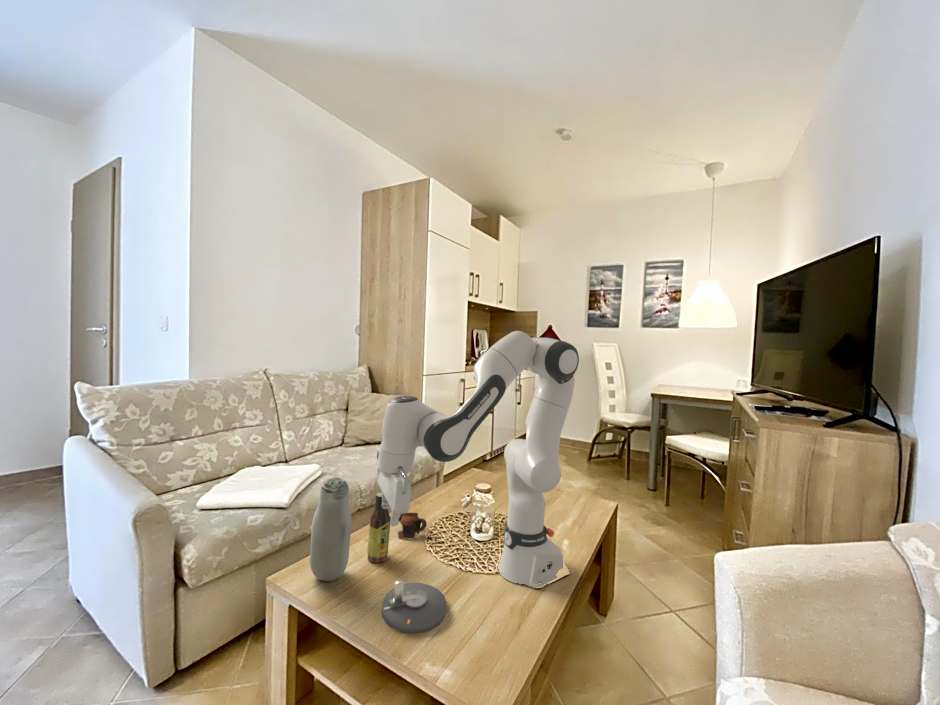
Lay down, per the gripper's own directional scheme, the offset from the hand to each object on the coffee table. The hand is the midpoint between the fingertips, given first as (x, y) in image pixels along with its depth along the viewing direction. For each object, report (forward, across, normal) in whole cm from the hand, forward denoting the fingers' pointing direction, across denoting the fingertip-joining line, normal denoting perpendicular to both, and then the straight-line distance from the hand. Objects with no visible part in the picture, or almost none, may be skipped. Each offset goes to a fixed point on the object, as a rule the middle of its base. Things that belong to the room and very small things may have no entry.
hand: (389, 515), depth 100 cm
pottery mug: (+23, +36, -18) cm, 47 cm away
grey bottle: (+25, +18, +10) cm, 32 cm away
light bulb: (+22, -2, -7) cm, 23 cm away
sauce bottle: (+24, +24, -4) cm, 34 cm away
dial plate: (+24, -2, -9) cm, 25 cm away
